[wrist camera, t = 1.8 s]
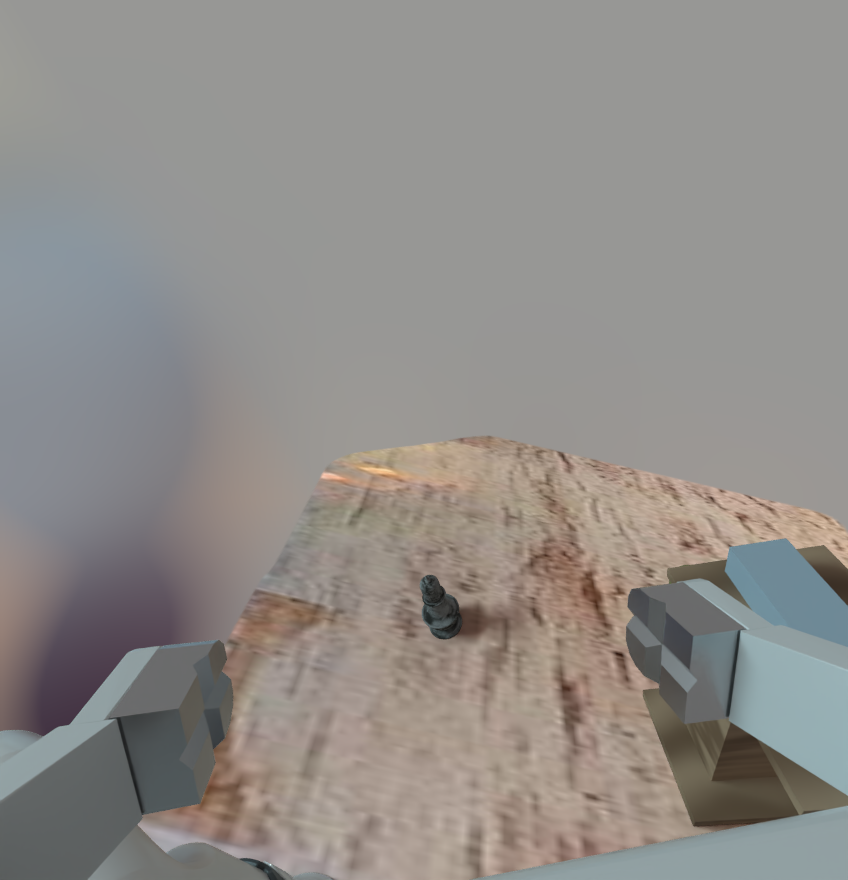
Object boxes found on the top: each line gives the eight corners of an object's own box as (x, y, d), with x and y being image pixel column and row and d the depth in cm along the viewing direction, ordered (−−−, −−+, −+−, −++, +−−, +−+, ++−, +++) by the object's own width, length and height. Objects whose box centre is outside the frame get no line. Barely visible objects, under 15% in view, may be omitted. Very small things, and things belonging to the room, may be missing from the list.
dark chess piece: (468, 610, 67) (451, 562, 60) (457, 645, 62) (437, 598, 56) (435, 602, 69) (415, 556, 63) (422, 636, 65) (399, 590, 59)
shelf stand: (903, 895, 35) (1096, 793, 21) (722, 901, 37) (783, 812, 23) (768, 682, 49) (828, 533, 35) (642, 695, 51) (650, 561, 37)
